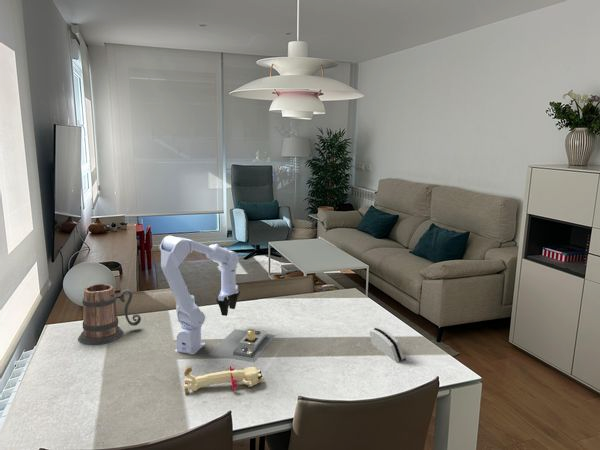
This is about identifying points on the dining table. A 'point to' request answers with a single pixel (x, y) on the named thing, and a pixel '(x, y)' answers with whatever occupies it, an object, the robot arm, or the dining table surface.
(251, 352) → the latch strike plate
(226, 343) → the mat
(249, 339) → the pin
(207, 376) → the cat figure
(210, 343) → the dining table surface
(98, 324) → the tankard
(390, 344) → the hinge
